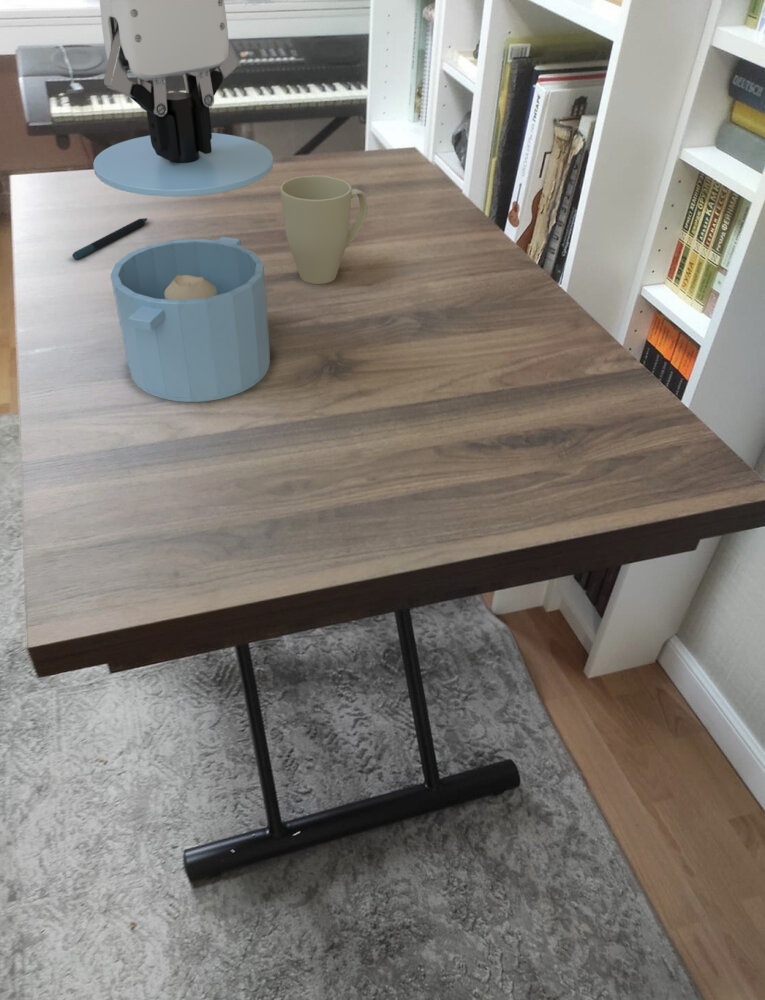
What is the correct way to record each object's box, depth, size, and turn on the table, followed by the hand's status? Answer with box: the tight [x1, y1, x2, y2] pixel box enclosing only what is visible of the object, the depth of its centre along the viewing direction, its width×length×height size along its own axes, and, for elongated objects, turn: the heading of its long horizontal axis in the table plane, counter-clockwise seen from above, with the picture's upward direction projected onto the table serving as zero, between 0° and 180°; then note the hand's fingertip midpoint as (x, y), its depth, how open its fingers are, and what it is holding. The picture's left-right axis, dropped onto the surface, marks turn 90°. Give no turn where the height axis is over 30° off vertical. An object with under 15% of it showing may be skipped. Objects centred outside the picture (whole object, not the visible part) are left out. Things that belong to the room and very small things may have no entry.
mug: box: [279, 174, 368, 285], centre depth 110 cm, size 11×10×12 cm
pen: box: [72, 217, 148, 260], centre depth 120 cm, size 1×16×1 cm, turn 153°
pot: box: [110, 236, 271, 403], centre depth 91 cm, size 16×21×12 cm
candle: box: [164, 275, 217, 300], centre depth 91 cm, size 6×6×10 cm
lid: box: [92, 91, 274, 198], centre depth 77 cm, size 17×17×7 cm
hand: (183, 151), depth 78 cm, fingers closed on lid, 2 cm apart
